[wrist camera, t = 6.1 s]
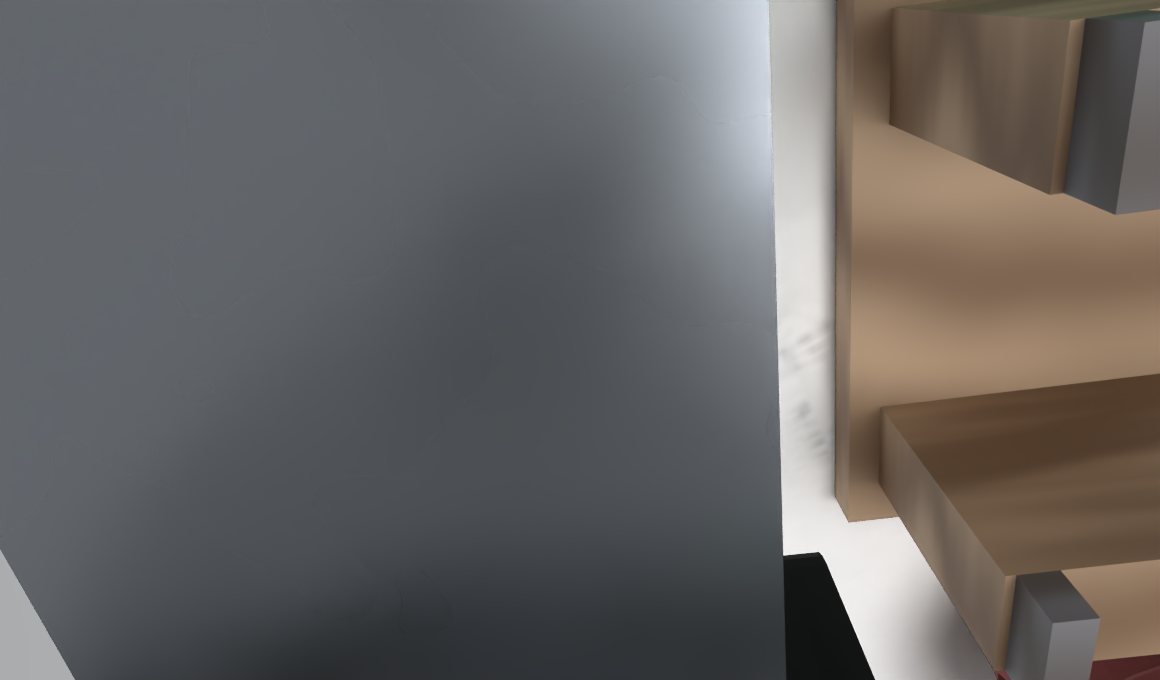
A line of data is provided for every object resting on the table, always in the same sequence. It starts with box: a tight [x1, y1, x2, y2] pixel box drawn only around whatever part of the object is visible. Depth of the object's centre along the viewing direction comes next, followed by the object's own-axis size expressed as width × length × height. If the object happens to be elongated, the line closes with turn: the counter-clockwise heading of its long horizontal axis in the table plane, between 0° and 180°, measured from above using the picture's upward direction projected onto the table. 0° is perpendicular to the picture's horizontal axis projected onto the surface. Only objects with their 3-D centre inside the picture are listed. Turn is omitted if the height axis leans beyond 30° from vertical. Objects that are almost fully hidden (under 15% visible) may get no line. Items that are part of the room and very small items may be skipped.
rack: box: [835, 0, 1160, 680], centre depth 20 cm, size 18×12×11 cm, turn 8°
